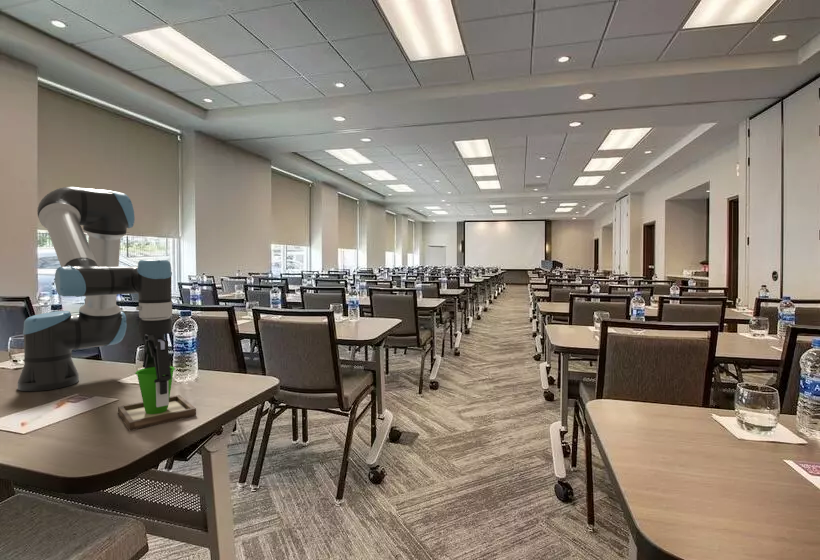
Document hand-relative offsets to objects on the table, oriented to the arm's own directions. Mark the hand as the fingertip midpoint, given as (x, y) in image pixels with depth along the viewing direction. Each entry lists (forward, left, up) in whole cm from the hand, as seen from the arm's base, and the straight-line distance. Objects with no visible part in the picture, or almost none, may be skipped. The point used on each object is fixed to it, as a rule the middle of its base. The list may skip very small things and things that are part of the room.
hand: (156, 400), depth 114 cm
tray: (0, 0, -4) cm, 4 cm away
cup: (0, 0, -3) cm, 3 cm away
